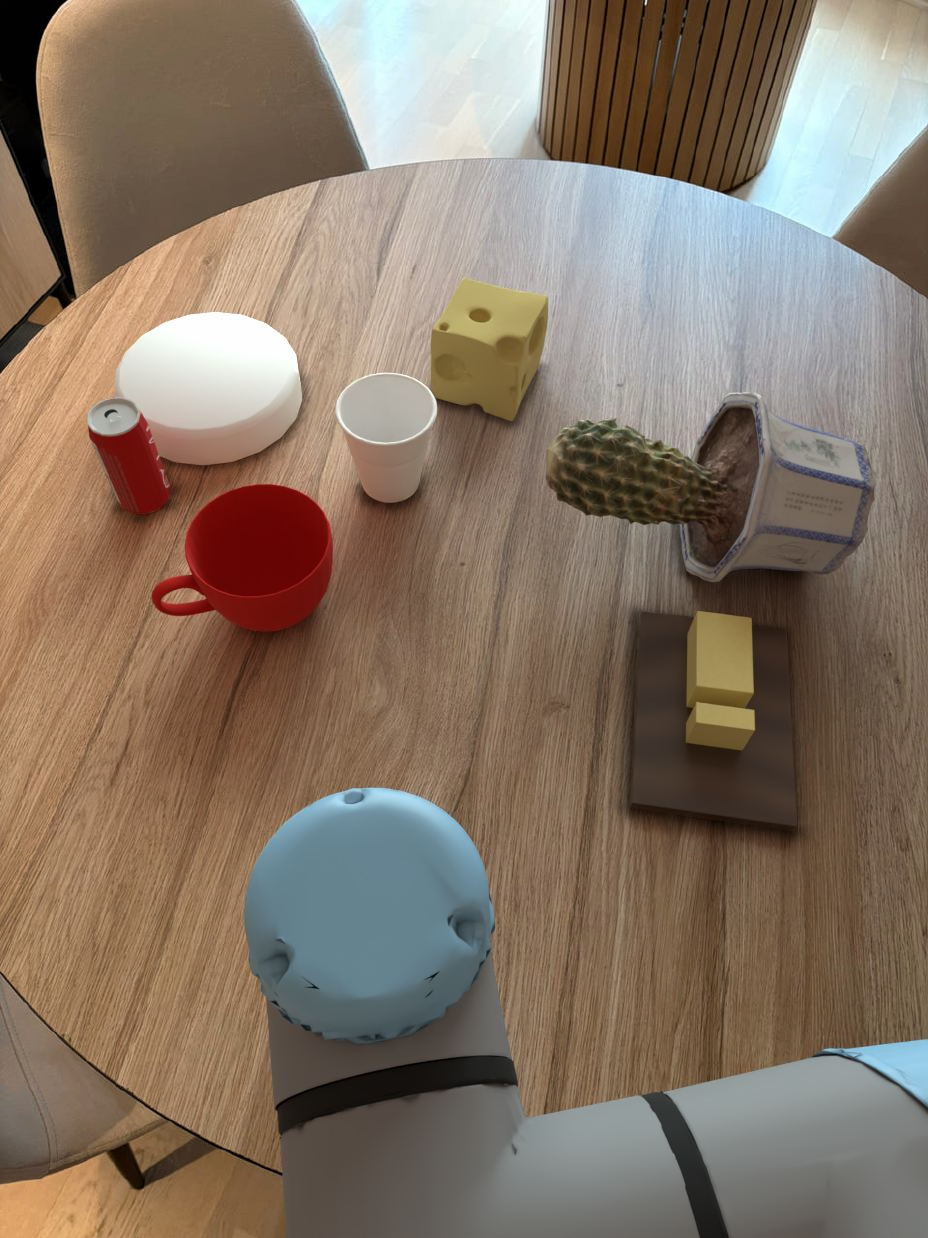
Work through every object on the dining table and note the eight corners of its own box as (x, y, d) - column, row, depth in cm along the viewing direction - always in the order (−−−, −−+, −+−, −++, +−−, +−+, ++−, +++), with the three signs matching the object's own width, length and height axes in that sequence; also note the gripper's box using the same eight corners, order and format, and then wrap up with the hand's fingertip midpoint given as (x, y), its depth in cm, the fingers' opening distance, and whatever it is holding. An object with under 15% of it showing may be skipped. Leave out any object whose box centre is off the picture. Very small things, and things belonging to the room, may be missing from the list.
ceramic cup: (148, 595, 93) (120, 531, 84) (307, 530, 98) (295, 464, 89) (196, 698, 87) (170, 640, 78) (363, 623, 92) (356, 562, 83)
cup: (363, 530, 98) (356, 457, 89) (331, 464, 103) (320, 388, 94) (452, 502, 100) (453, 427, 91) (415, 438, 105) (413, 361, 96)
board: (793, 831, 81) (797, 826, 80) (629, 808, 82) (631, 803, 81) (783, 635, 92) (787, 629, 91) (638, 616, 93) (640, 610, 92)
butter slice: (742, 750, 84) (755, 730, 81) (685, 743, 84) (695, 722, 81) (741, 730, 85) (754, 709, 82) (685, 722, 85) (696, 701, 82)
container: (90, 441, 104) (76, 409, 100) (172, 324, 114) (163, 292, 110) (260, 483, 101) (253, 453, 97) (328, 360, 112) (324, 328, 108)
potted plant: (870, 378, 91) (576, 315, 84) (916, 531, 82) (591, 474, 75) (772, 488, 106) (515, 442, 99) (802, 629, 97) (521, 589, 90)
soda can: (181, 500, 99) (153, 417, 89) (134, 525, 98) (99, 443, 87) (155, 468, 102) (124, 384, 92) (108, 492, 100) (72, 409, 90)
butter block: (741, 714, 86) (754, 693, 83) (686, 707, 86) (696, 685, 83) (740, 640, 90) (751, 617, 87) (687, 633, 91) (697, 610, 87)
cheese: (514, 424, 107) (521, 355, 98) (425, 398, 109) (424, 328, 100) (543, 365, 112) (552, 294, 104) (458, 341, 114) (460, 270, 106)
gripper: (339, 820, 45) (369, 951, 64) (254, 1194, 36) (318, 1214, 56) (497, 843, 44) (478, 967, 64) (448, 1227, 36) (444, 1235, 56)
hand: (404, 1082), depth 60 cm, fingers closed on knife, 2 cm apart
